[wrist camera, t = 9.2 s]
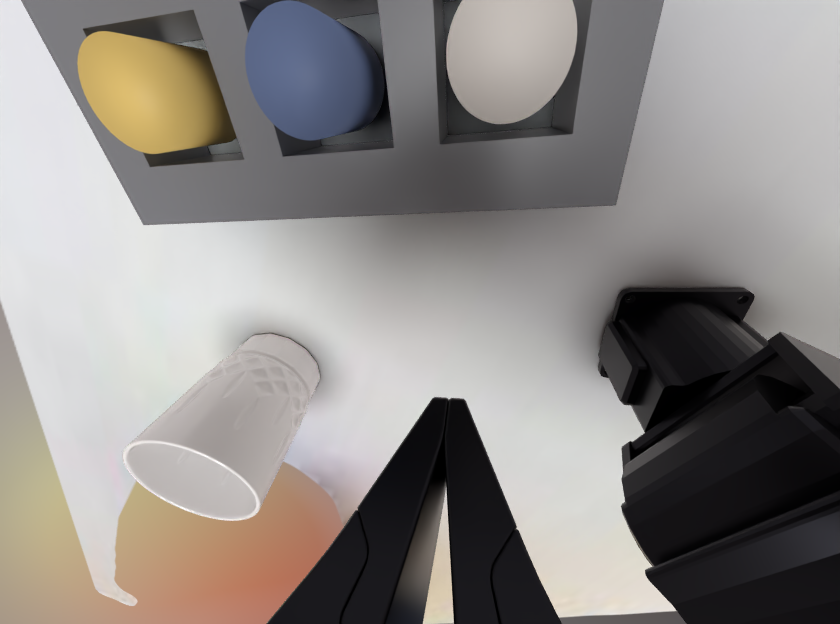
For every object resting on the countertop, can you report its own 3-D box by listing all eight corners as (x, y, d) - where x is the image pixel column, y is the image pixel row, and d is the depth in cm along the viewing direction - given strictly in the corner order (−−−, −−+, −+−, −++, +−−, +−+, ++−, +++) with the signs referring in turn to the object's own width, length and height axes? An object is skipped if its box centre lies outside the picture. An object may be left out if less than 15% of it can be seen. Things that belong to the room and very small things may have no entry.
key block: (645, -136, 11) (721, -243, 7) (586, 184, 16) (615, 205, 13) (100, -25, 14) (-14, -63, 11) (199, 204, 20) (143, 225, 16)
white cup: (345, 366, 25) (281, 494, 17) (302, 411, 29) (233, 533, 21) (255, 307, 24) (134, 419, 15) (222, 364, 28) (112, 477, 19)
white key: (556, -6, 11) (588, -51, 8) (543, 114, 13) (566, 118, 10) (453, 9, 12) (443, -27, 9) (455, 122, 14) (448, 128, 10)
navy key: (377, 20, 12) (340, -9, 9) (389, 128, 14) (362, 136, 11) (291, 33, 13) (227, 9, 10) (314, 134, 15) (267, 144, 12)
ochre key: (227, 42, 13) (145, 23, 10) (257, 140, 15) (196, 150, 12) (154, 53, 14) (55, 38, 11) (192, 145, 16) (117, 156, 13)
